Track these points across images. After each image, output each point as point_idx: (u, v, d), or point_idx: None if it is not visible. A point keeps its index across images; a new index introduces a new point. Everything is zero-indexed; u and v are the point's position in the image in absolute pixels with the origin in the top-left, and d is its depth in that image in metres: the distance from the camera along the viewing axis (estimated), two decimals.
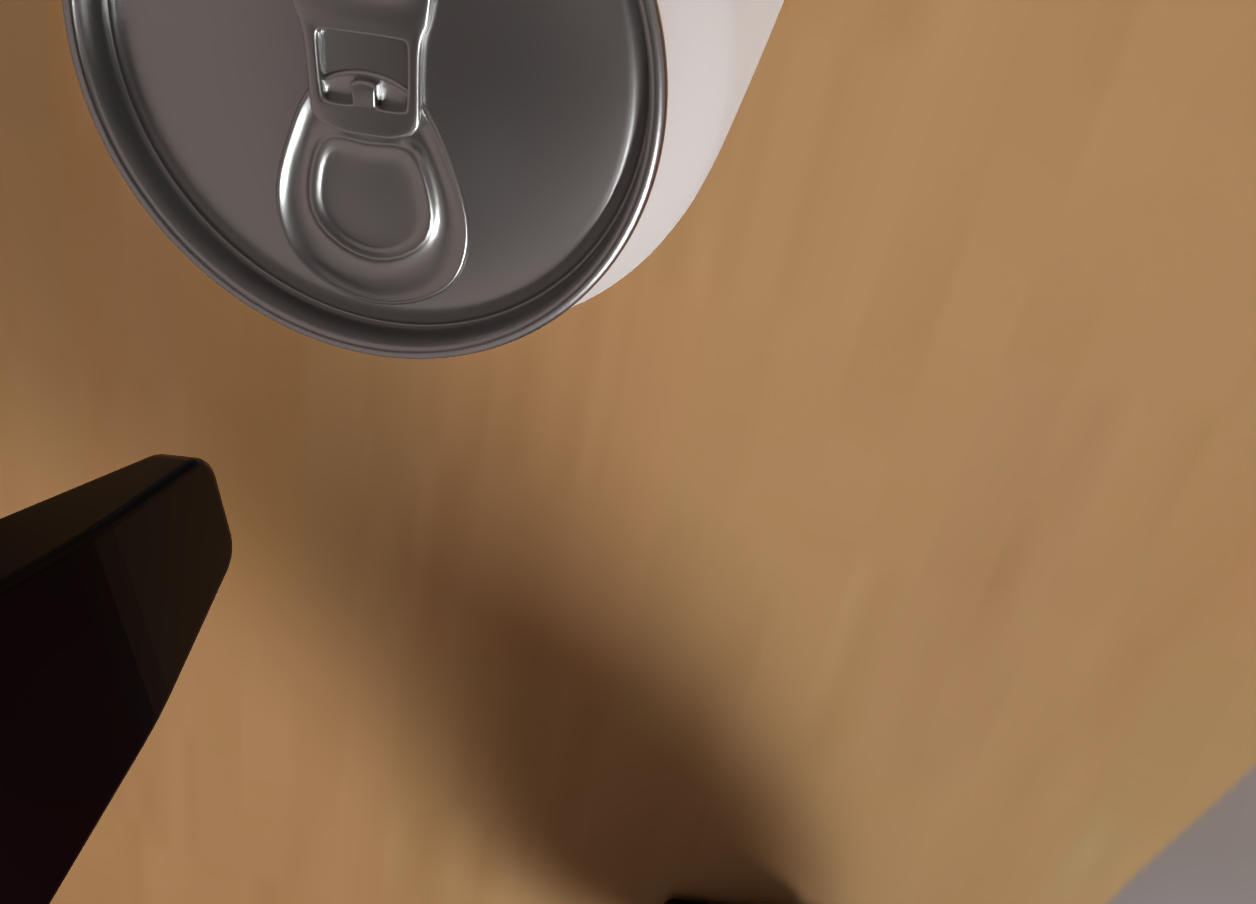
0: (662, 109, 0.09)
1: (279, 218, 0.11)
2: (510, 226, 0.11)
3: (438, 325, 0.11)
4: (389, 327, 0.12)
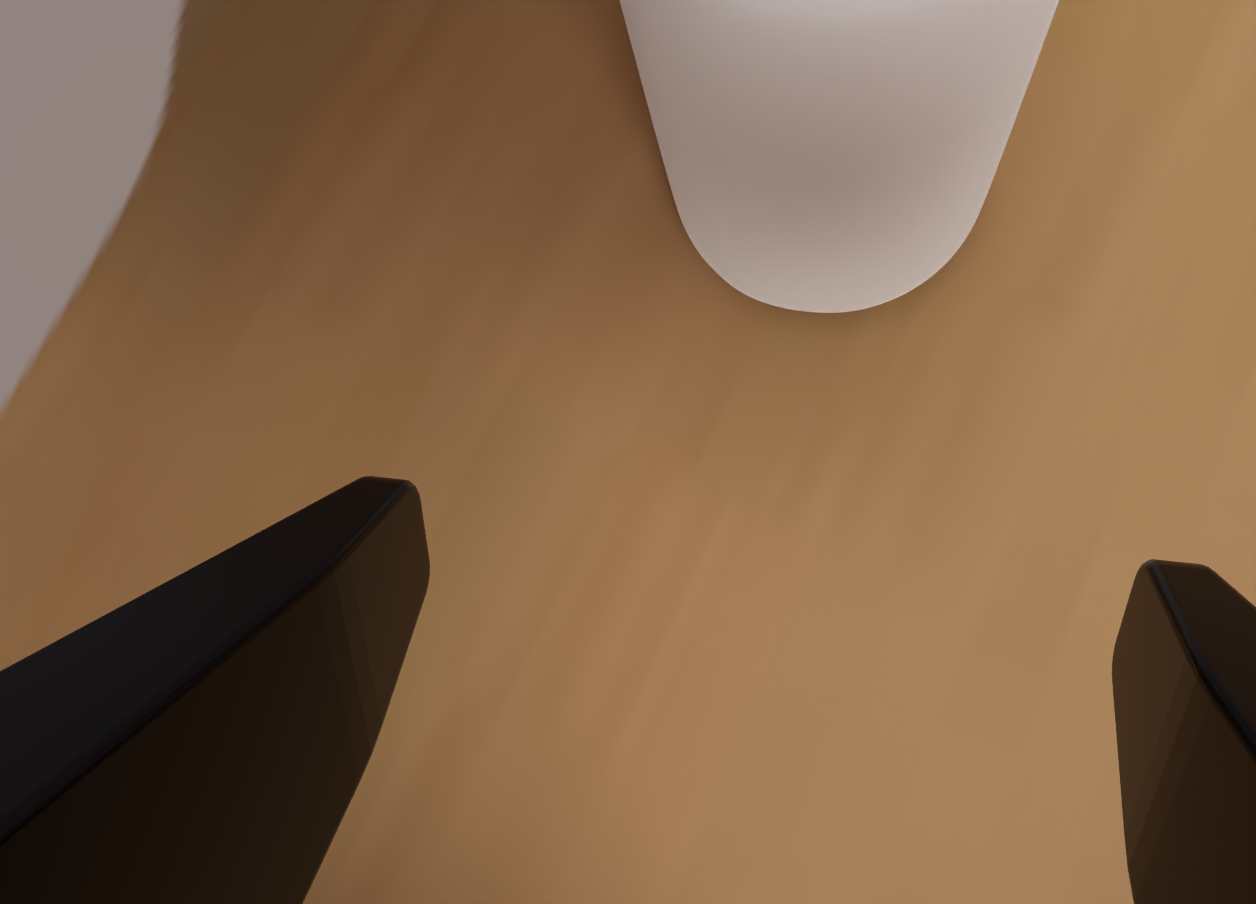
0: None
1: None
2: None
3: None
4: None
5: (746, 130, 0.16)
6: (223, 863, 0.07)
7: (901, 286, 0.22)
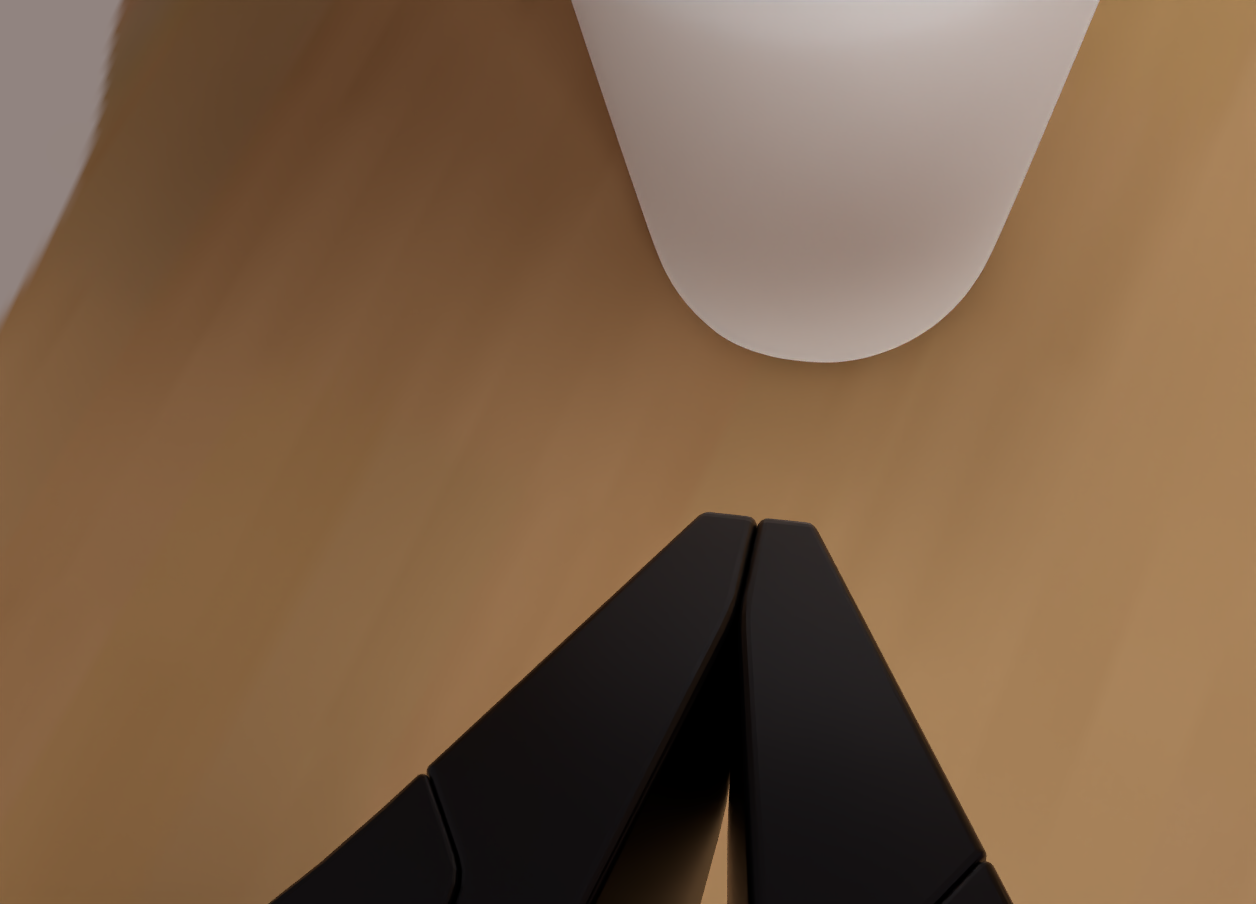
0: None
1: None
2: None
3: None
4: None
5: (723, 169, 0.13)
6: None
7: (904, 334, 0.19)
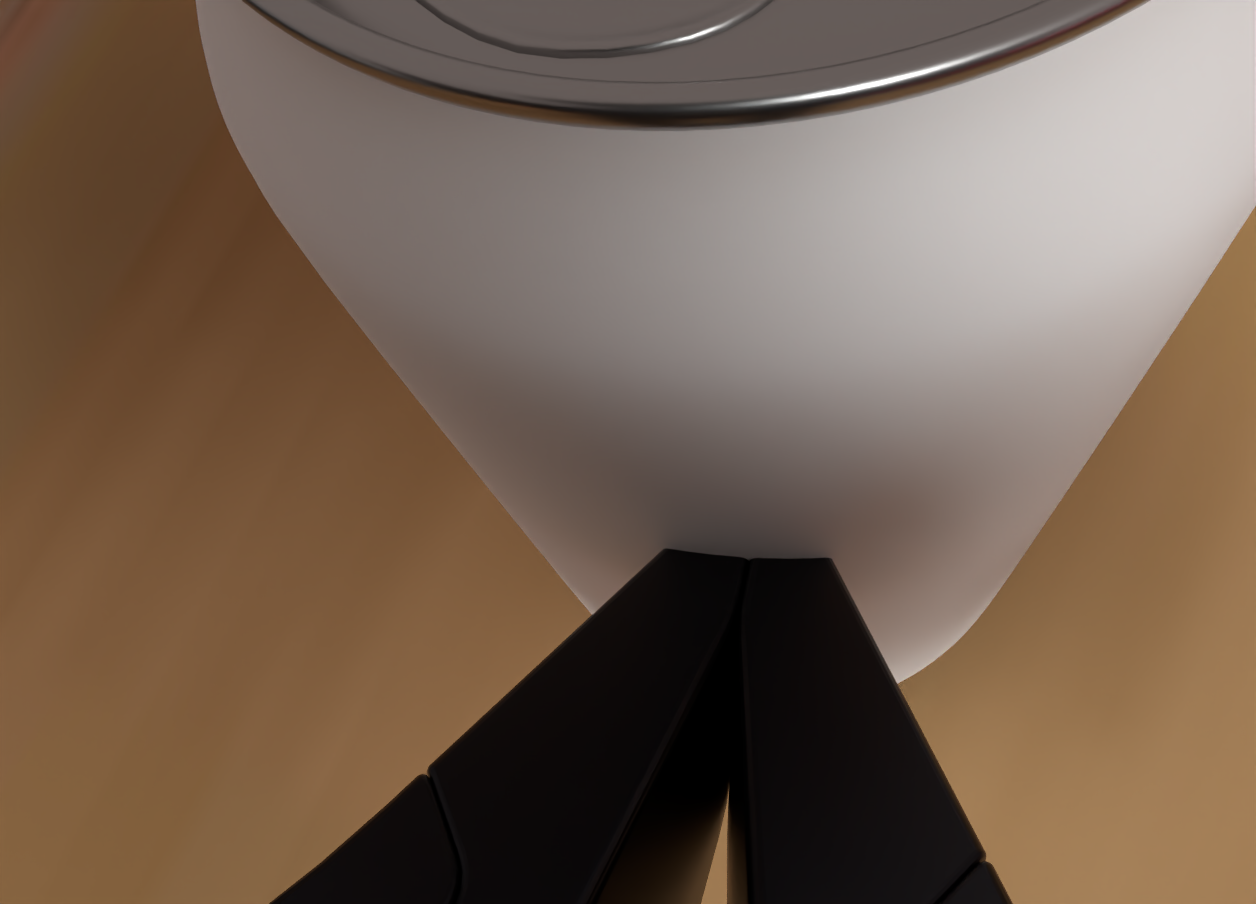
0: None
1: None
2: None
3: None
4: None
5: (577, 525, 0.08)
6: None
7: None
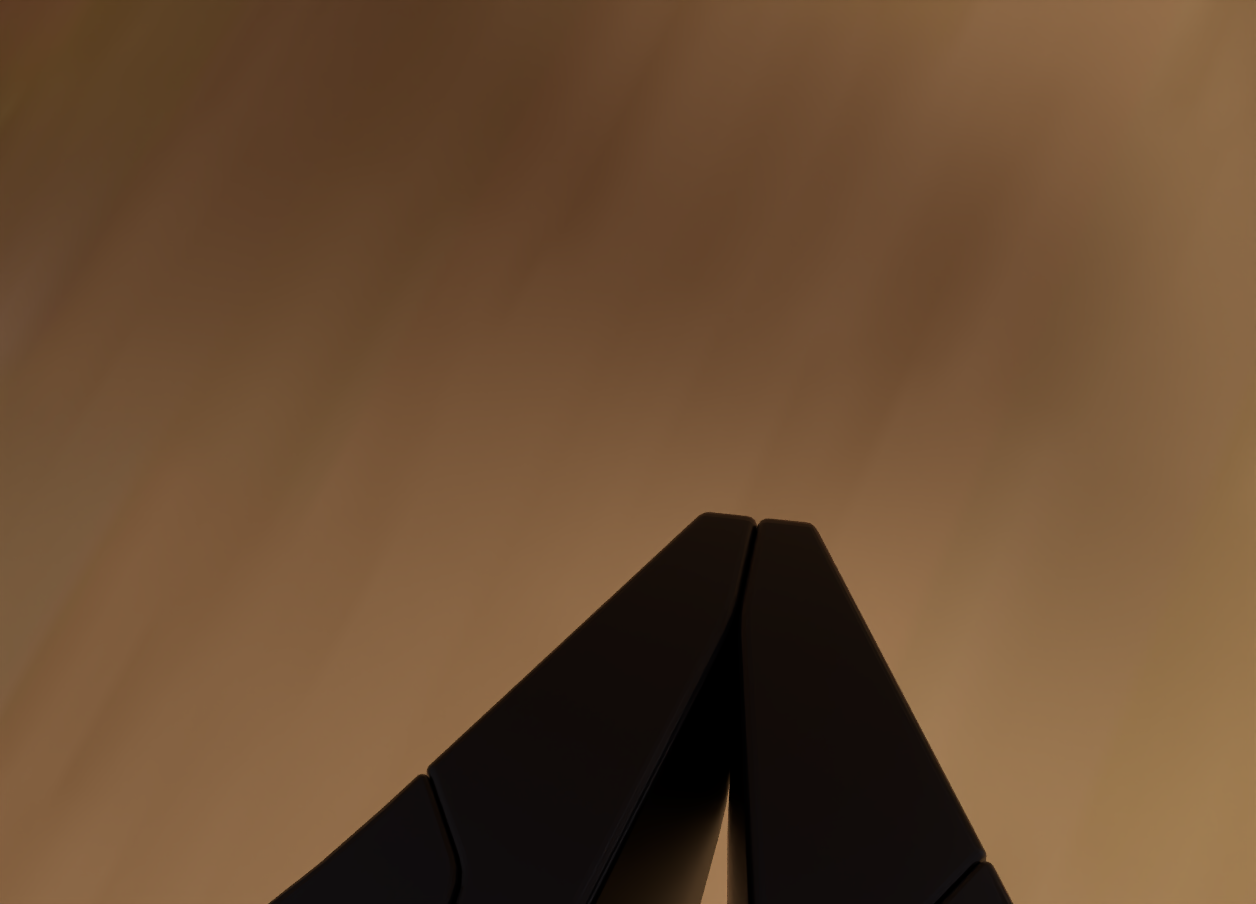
0: None
1: None
2: None
3: None
4: None
5: None
6: None
7: None
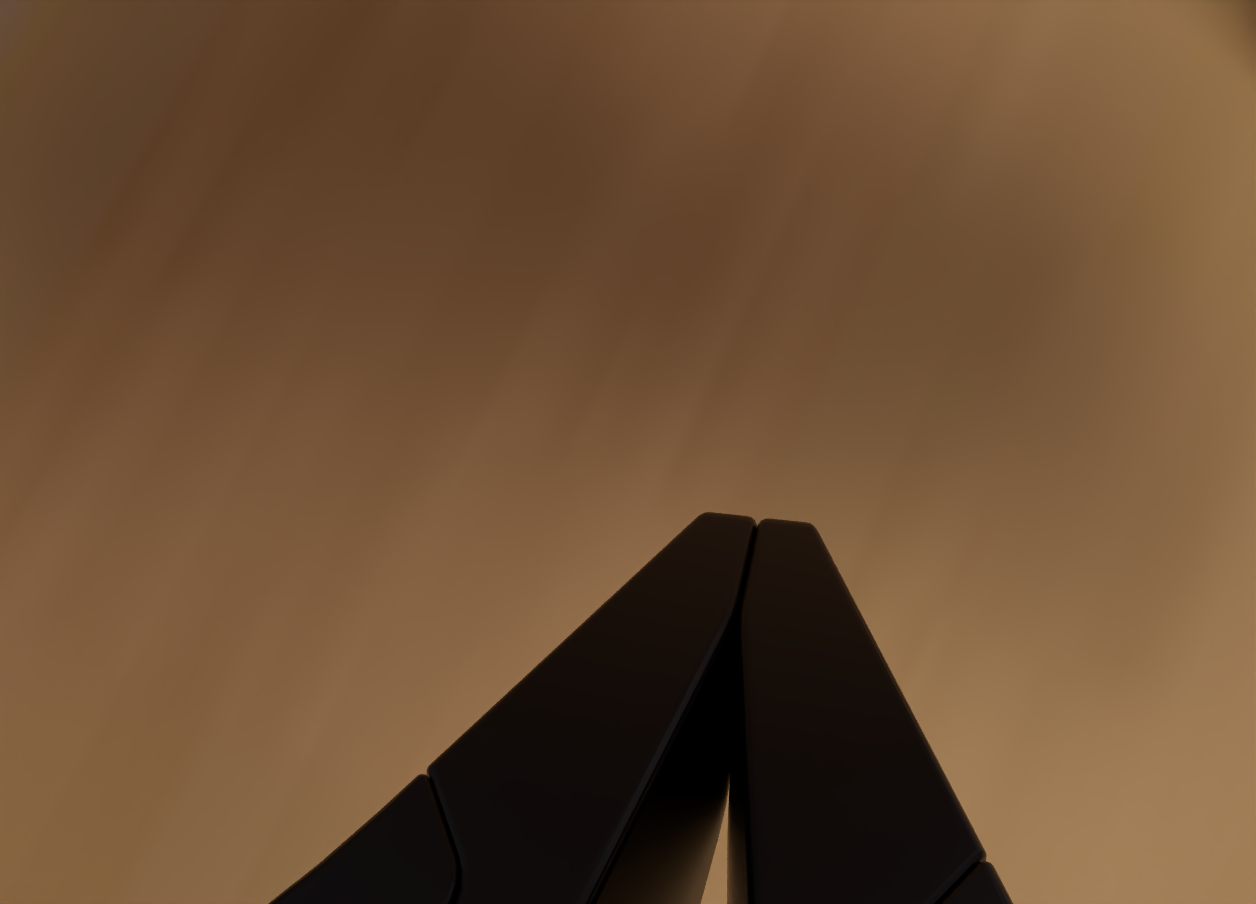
0: None
1: None
2: None
3: None
4: None
5: None
6: None
7: None
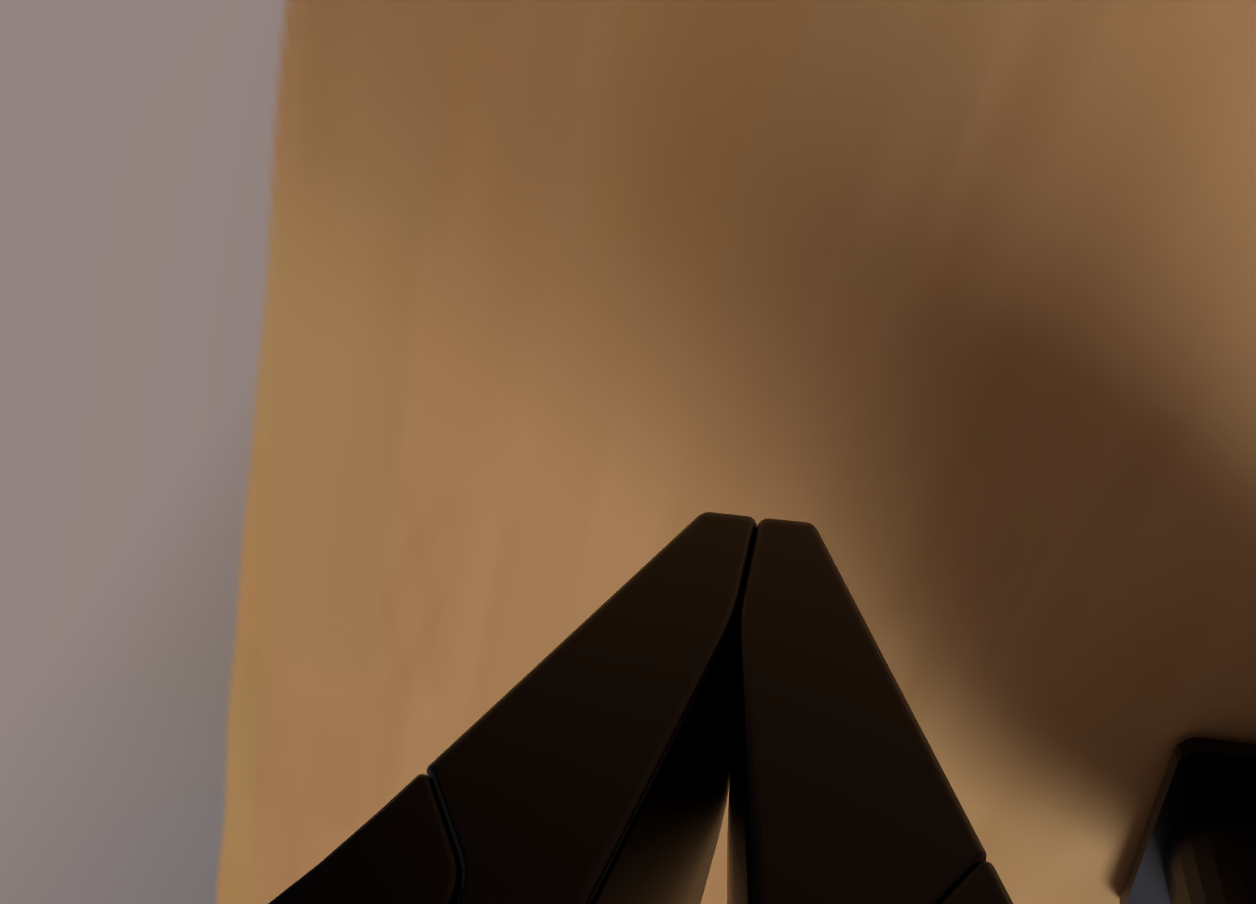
0: None
1: None
2: None
3: None
4: None
5: None
6: None
7: None
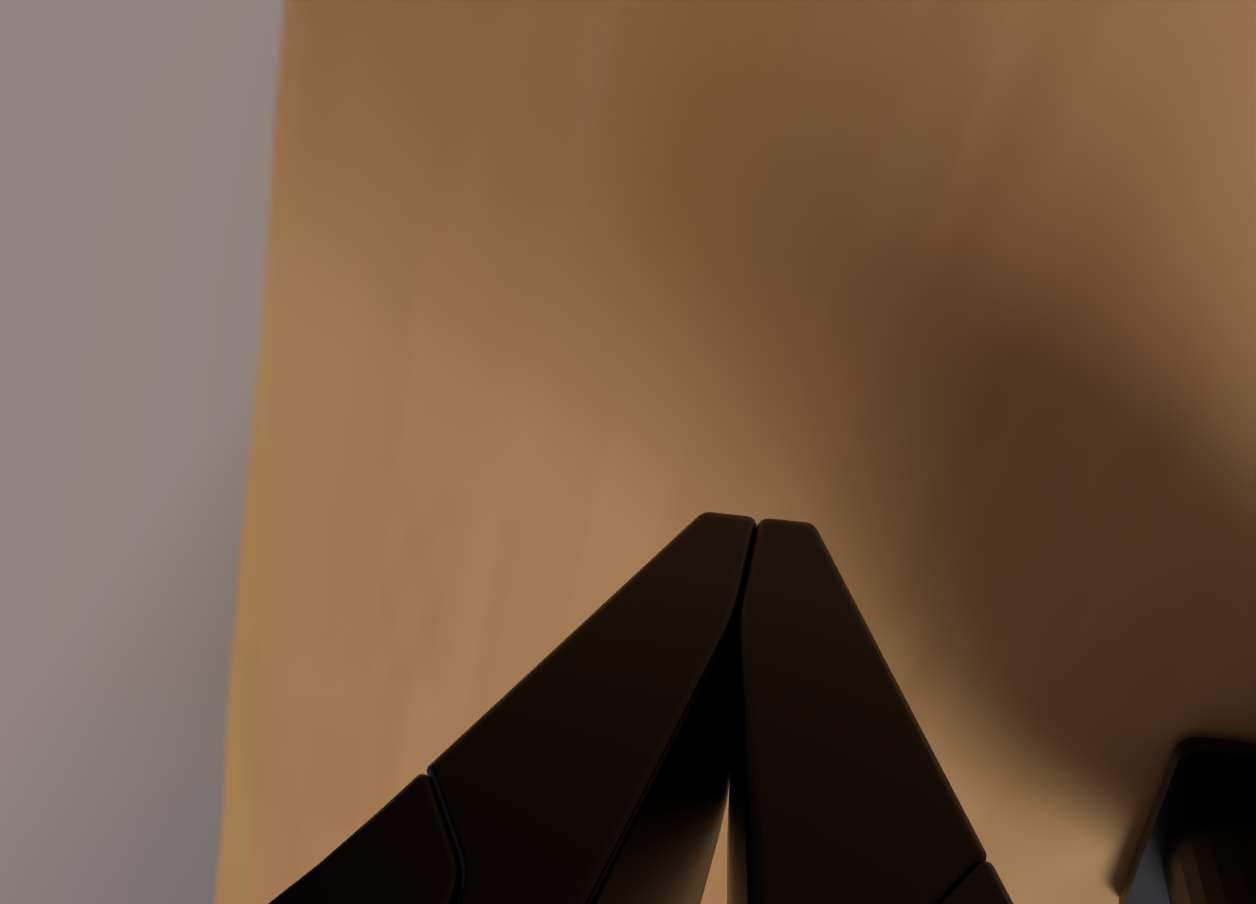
0: None
1: None
2: None
3: None
4: None
5: None
6: None
7: None
